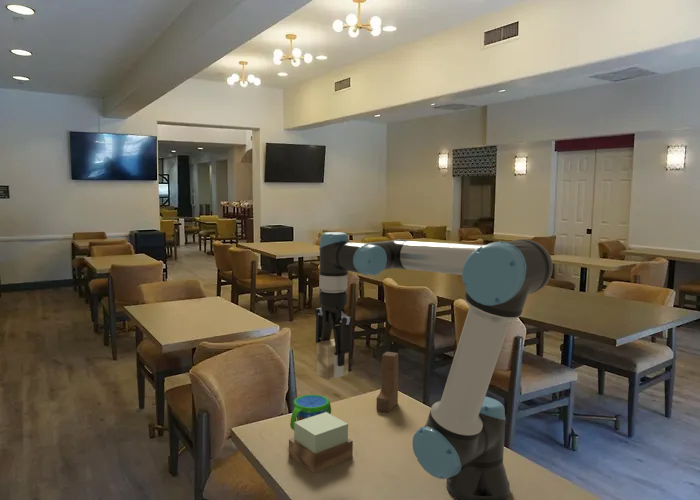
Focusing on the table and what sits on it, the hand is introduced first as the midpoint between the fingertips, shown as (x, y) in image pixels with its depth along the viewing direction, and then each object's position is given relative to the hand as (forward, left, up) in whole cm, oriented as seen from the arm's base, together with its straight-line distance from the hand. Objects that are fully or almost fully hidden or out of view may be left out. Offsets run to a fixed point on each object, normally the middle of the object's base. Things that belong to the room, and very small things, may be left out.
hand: (332, 373), depth 143 cm
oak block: (0, 0, 0) cm, 0 cm away
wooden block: (+14, -35, -24) cm, 44 cm away
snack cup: (+14, -4, -24) cm, 28 cm away
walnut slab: (+2, +3, -24) cm, 24 cm away
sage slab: (+1, +3, -19) cm, 19 cm away
